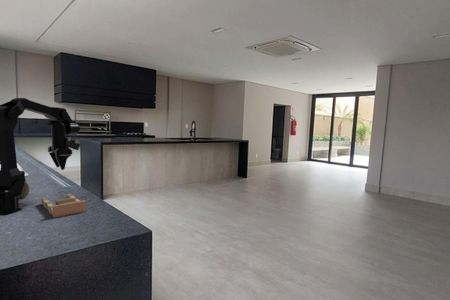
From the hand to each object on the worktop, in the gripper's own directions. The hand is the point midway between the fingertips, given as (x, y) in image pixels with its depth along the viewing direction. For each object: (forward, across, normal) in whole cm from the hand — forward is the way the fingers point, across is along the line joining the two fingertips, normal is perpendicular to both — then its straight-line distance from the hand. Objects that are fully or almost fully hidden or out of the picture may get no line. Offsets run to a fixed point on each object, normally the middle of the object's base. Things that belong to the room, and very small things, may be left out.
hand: (60, 168), depth 128 cm
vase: (+13, +6, +15) cm, 21 cm away
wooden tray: (+12, -22, +4) cm, 25 cm away
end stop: (+12, -32, +4) cm, 35 cm away
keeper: (+13, -28, +4) cm, 31 cm away
